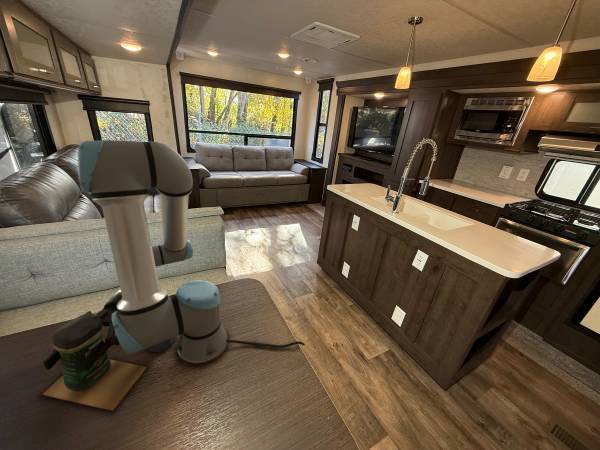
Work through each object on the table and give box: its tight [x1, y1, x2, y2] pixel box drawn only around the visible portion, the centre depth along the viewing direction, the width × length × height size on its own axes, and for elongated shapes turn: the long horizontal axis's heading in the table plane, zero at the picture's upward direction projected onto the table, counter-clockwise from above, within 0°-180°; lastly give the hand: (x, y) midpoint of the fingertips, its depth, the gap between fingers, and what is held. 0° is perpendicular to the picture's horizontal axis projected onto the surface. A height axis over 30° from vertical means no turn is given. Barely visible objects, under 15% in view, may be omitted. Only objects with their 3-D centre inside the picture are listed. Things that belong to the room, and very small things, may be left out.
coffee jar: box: [51, 312, 111, 391], centre depth 65 cm, size 10×8×19 cm
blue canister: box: [147, 338, 174, 353], centre depth 79 cm, size 8×8×11 cm
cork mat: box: [42, 359, 148, 412], centre depth 68 cm, size 20×12×1 cm, turn 82°
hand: (65, 366), depth 60 cm, fingers closed on coffee jar, 8 cm apart
